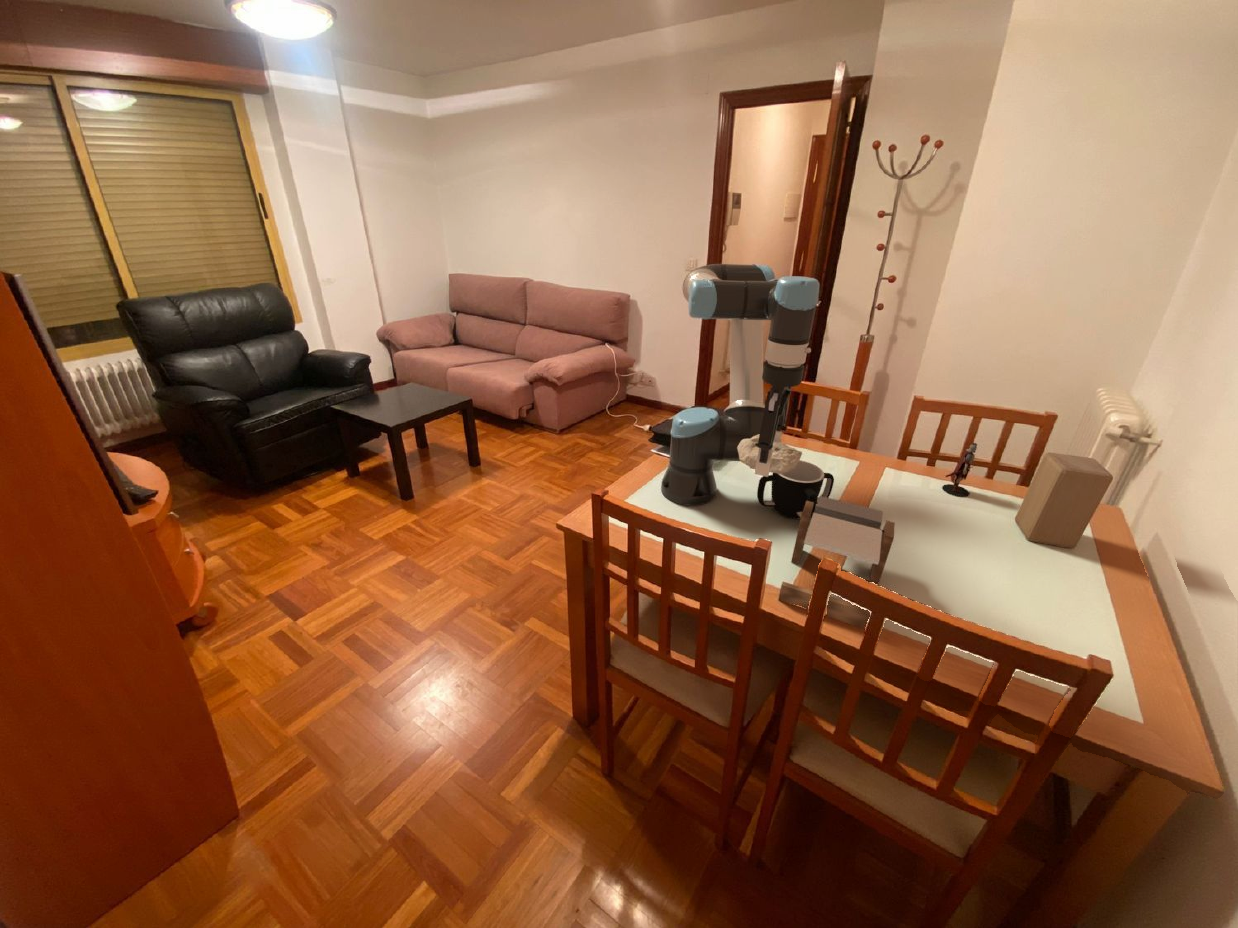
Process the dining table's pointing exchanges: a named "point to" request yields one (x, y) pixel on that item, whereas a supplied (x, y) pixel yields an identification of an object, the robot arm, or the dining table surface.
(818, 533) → the trapdoor
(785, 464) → the stone
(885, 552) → the frame
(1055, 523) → the wooden block
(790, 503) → the mug
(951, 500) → the dining table surface
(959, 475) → the figurine
